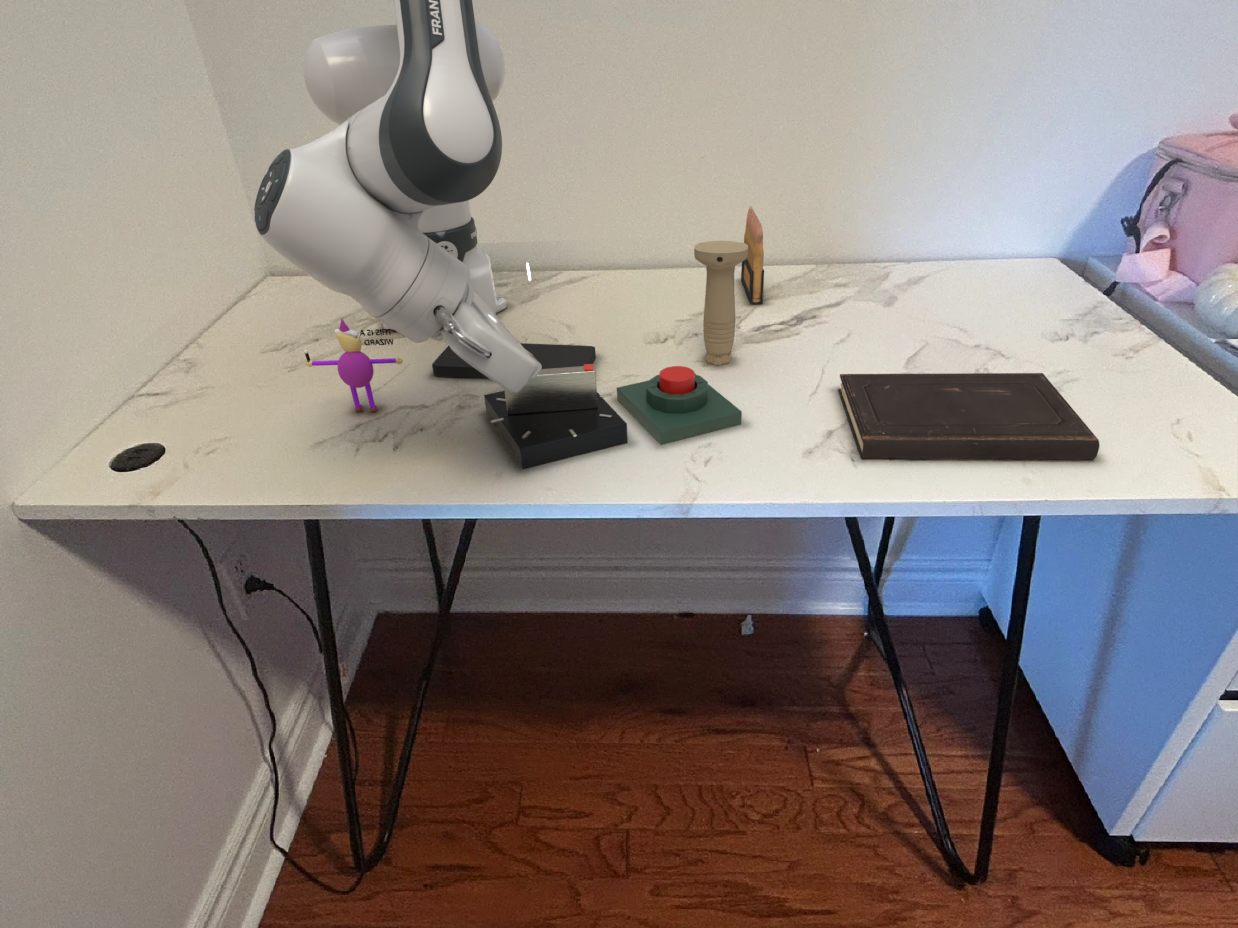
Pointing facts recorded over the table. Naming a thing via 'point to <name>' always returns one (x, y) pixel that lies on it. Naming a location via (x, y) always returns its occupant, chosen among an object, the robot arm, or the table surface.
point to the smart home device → (544, 353)
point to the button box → (678, 410)
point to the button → (677, 380)
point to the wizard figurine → (355, 362)
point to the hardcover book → (963, 417)
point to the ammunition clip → (753, 260)
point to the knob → (556, 391)
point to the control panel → (556, 431)
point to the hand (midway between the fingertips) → (533, 367)
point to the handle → (719, 296)
